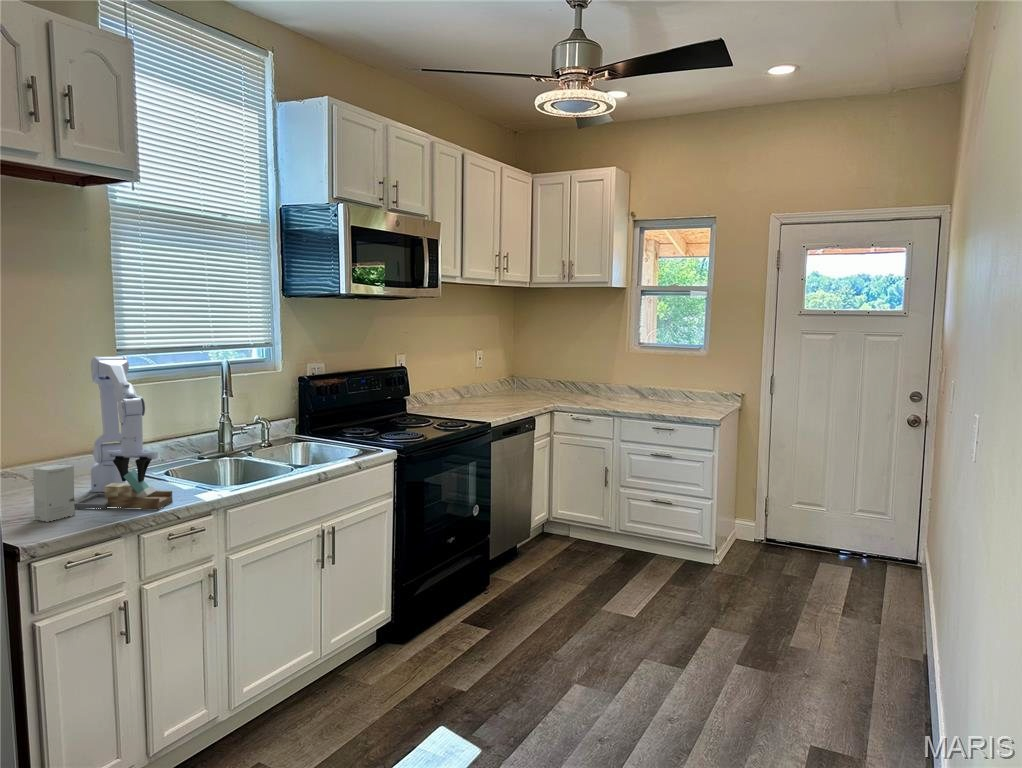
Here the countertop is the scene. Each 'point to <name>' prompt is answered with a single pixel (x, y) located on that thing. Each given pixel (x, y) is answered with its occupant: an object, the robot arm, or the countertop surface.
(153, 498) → the slot board
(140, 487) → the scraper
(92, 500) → the chip tray
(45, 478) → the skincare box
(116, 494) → the block
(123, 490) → the block
